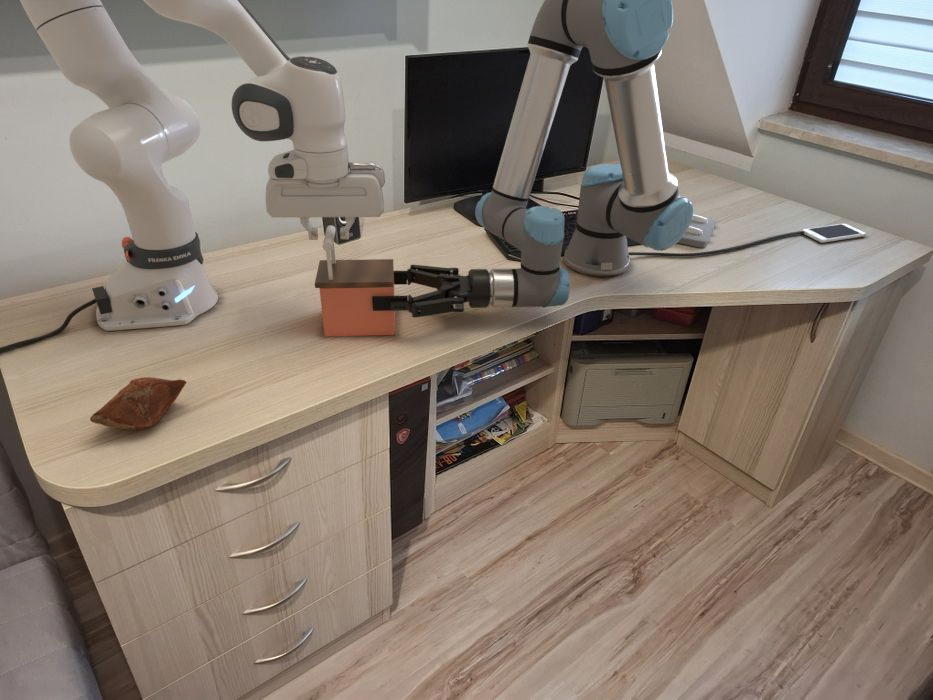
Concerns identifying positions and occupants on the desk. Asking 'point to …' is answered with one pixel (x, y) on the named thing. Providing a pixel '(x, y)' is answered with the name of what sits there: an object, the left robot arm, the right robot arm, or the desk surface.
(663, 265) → the desk surface
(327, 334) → the chest
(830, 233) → the smartphone
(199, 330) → the desk surface
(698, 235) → the light switch
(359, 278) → the lid
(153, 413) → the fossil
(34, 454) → the desk surface
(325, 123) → the left robot arm
